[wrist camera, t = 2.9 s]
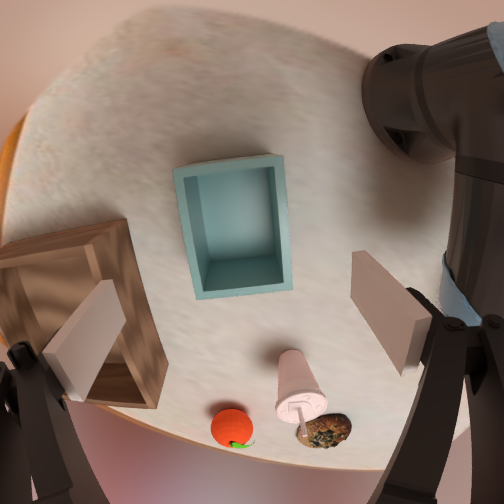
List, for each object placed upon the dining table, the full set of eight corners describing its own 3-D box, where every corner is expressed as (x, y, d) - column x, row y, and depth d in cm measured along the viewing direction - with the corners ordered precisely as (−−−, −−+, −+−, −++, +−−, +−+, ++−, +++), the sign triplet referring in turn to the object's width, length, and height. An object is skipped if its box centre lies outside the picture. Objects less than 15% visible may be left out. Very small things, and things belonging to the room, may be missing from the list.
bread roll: (361, 414, 46) (366, 435, 42) (330, 438, 51) (332, 457, 47) (313, 407, 45) (315, 430, 40) (285, 432, 50) (285, 453, 45)
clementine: (265, 411, 44) (268, 443, 37) (243, 429, 46) (244, 460, 39) (225, 395, 42) (223, 430, 35) (204, 415, 44) (201, 447, 37)
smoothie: (292, 334, 38) (312, 414, 25) (321, 355, 40) (347, 430, 27) (260, 361, 40) (267, 441, 26) (290, 380, 41) (304, 454, 28)
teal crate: (189, 163, 30) (172, 169, 22) (272, 153, 30) (283, 155, 22) (205, 266, 34) (196, 300, 26) (281, 257, 34) (292, 289, 26)
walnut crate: (9, 242, 32) (-28, 265, 23) (126, 218, 32) (92, 244, 23) (57, 360, 39) (36, 393, 31) (168, 364, 39) (156, 409, 31)
